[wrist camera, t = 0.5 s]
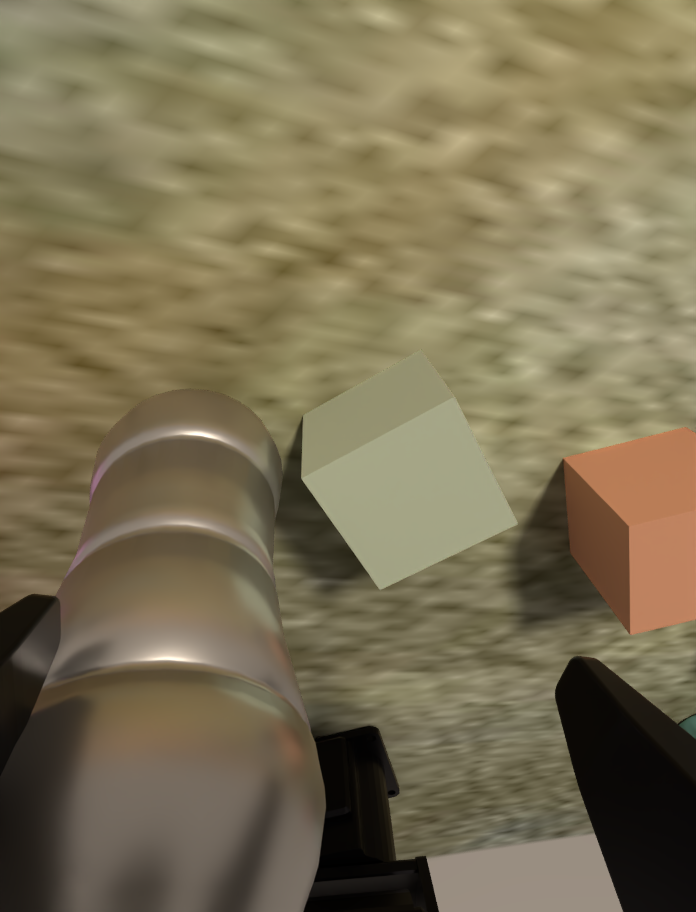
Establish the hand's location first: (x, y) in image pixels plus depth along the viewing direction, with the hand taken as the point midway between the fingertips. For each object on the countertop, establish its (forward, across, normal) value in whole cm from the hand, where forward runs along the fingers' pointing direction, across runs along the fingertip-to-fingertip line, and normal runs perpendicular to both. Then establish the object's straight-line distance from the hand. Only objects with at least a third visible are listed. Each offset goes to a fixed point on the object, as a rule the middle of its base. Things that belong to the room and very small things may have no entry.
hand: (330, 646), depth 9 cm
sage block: (+14, -4, +1) cm, 14 cm away
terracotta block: (+14, -15, +2) cm, 21 cm away
